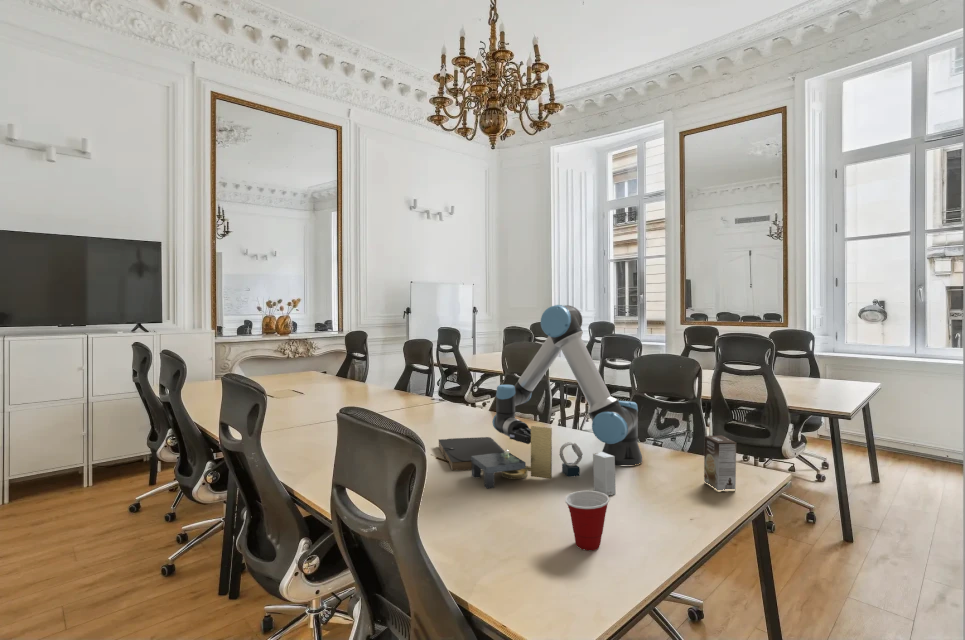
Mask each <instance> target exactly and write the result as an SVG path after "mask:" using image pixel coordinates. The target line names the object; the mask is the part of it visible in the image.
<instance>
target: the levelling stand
mask: <svg viewBox="0 0 965 640" xmlns="http://www.w3.org/2000/svg"><path fill="white" fill-rule="evenodd" d="M471 462H472V469H471V477H472V478H473V479H477V478H478V479H479V478H482V471H483V480H484V481H483V487H484V488H485V489H487V490H489V489H494V488H495V473H502V471H510V470H517V469H525V468H526V466H527V465H526V461H524V460H522V459H521V458H519V457H517V456H515V455H513V454H512V453H510V450H509V449H505V450H504V452H501V453H493V454H484V455H476V456H471Z"/></svg>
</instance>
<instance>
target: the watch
mask: <svg viewBox="0 0 965 640" xmlns="http://www.w3.org/2000/svg"><path fill="white" fill-rule="evenodd" d="M568 446H571V447H572V448H571V449H572V450H573V452H574V453H575V455H576V456H577V459H576V460H575V461H574V462H567V460H566V459H565V456H564V450H565V448H567V447H568ZM558 455H559V457H560V460H561V461H562V463H561V473H562V474H564V475H565V476H566V477H567V478H573V477H574V476H575V477H580V476H581V475H580V469H581V468H580V466H579V464H580V462H582V459H583V452H582V450H581V448H580V447H579V445H578V444H577V443H576V442H574V443H573V442H571V441H569V442H565V443H564V444H562V445H561V446H560V448H559V454H558Z"/></svg>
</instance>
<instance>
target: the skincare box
mask: <svg viewBox="0 0 965 640" xmlns="http://www.w3.org/2000/svg"><path fill="white" fill-rule="evenodd" d="M592 460H593V461H592V464H593V469H592V471H593V491H597V492H601V493H604V494H606V495H607V496H608V497H609V495H610V496H613V494H614V495H616V493H617V492H616V487H617V486H616V465H615V456H612V455H610V454H607V453H604V452H602V451H600V452H595V453H592Z"/></svg>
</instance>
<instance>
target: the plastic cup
mask: <svg viewBox="0 0 965 640" xmlns="http://www.w3.org/2000/svg"><path fill="white" fill-rule="evenodd" d="M610 500H611V499H610V497H609V496H607V495H606V494H604V493H601V492H597V491H595V490H579V491H574V492H571V493H568V494H567V495H566V496H565V497H564V501H565V504H566V505H567V506H568V507H567V508H568V511H569V514H570V518H571V519H570V520H571V524H572V532H573V536H574V542H575V546H576V545H577V546H578V547H579V548H578V547H577V546H576V547H577V548H578V549H580V548H581V549H580V550H583V549H585V550H584V551H589V550H592V551H596V550H599V548H600V546H601V542H602V537H603V533H604V532H603V531H604V527H605V526H604V525H605V521H606V519H605V518H606V513H607V509H608V506H609V505H608V504H609V502H610Z"/></svg>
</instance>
